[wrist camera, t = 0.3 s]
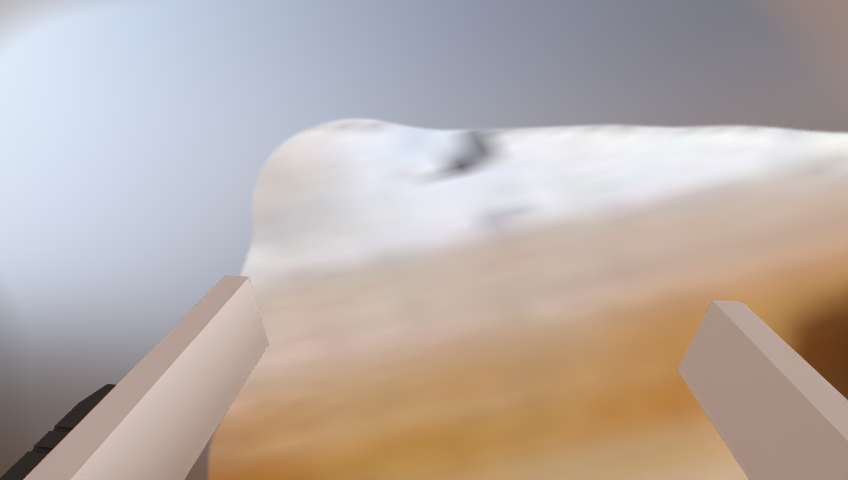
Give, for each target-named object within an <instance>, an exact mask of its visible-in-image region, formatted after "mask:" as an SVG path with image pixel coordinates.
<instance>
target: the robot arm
mask: <svg viewBox="0 0 848 480" xmlns="http://www.w3.org/2000/svg"><path fill="white" fill-rule="evenodd" d="M268 345H269V344H268V340H267V337H266V333H265V330H264V326H263V323H262V320H261V316H260V313H259V309H258V306H257V302H256V299H255V295H254V292H253V289H252V285H251V282H250V278H249V277H240V276H224V277H223V278H222V279H221V280H220V281H219V282H218V283H217V284H216V285H215V286H214V287H213V288H212V289H211V290H210V292H208V293H207V294H206V295H205V296H204V297H203V298H202V299H201V300H200V301H199V303H197V304H196V305H195V306H194V307H193V308H192V309H191V310H190V311H189V312H188V314H187V315H186V316H184V317H183V319H182V320H181V321H180V322H179V323H178V324H177V325H176V326H175V327H174V328H173V329H172V330H171V331H170V332H169V333H168V334H167V335H166V336H165V337H164V338H163V339H162V340H161V341H160V342H159V343H158V344H157V345H156V346H155V347H154V348H153V349H152V350H151V351H150V352H149V353H148V354H147V355H146V356H145V357H144V358H143V359H142V360H141V361H140V362H139V363H138V364H137V365H136V366H135V367H134V368H133V369H132V370H131V371H130V372H129V373H128V374H127V375H126V376H125V377H124V378H123V379H122V380H121V381H120V382H119V383H118V384H117V385H112V384H107V385H105V386H104V387H102V388H101V389H100V390H98V391H97V392H95V393H93V394H92V395H90V396H89V397H87V398H86V399H84V400H83V401H81V402H80V403H78V404H77V405H76V406H75V407H74V408H73V409H72V410H71V411H70V412H69V413H68V414H67V415H66V416H65V417H64V418H63V419H62V420H61V421H59V422H58V423H57V425H55V426H54V427H55V428H54V430H53V431H49V432H48V433H47V434H46V435H45V436H44V437H43V438H42V439H41V440H40V441H39V442H38V443H36V445H34V449H33V450H32V451H31V452H27V453H26V454H25V455H24V456H23V457H22V458H21V459H20V460H19V461H18V462H17V463H16V464H15V465H14V466H12V467H11V468H10V469H9V470H8V471H7V472H6V473H5V474H4V475H3V476H2V477H1V478H0V480H184V479H185V478H186V476H187V474H188V473H189V471H190V470H191V468H192V466H193V465H194V463H195V462H196V460H197V458H198V457H199V455H200V454H201V452H202V450H203V448H204V447H205V446H206V444H207V442H208V441H209V439H210V438H211V436H212V434H213V433H214V431H215V430H216V428H217V426H218V425H219V423H220V422H221V420H222V418H223V417H224V415H225V413H226V412H227V410H228V409H229V407H230V405H231V404H232V402H233V401H234V399H235V397H236V396H237V394H238V393H239V391H240V389H241V388H242V386H243V385H244V383H245V381H246V380H247V378H248V377H249V375H250V373H251V372H252V370H253V369H254V367H255V365H256V364H257V362H258V361H259V359H260V357H261V356H262V354H263V353H264V351H265V349H266V348H267V346H268ZM677 371H678V372H679V374H680V375H681V377H682V378H683V380H684V381H685V383H686V384H687V386H688V387H689V389H690V390H691V392H692V394H693V395H694V397H695V398H696V400H697V401H698V403H699V404H700V406H701V407H702V409H703V410H704V412H705V413H706V415H707V416H708V418H709V419H710V421H711V422H712V424H713V426H714V427H715V429H716V430H717V432H718V433H719V435H720V436H721V438H722V439H723V441H724V442H725V444H726V445H727V447H728V448H729V450H730V451H731V453H732V454H733V456H734V458H735V459H736V461H737V462H738V464H739V465H740V467H741V468H742V470H743V471H744V473H745V474H746V476H747V477H748V479H749V480H848V400H847V399H846V398H845V397H844V396H843V395H842V394H841V393H840V392H839V391H837V390H836V389H835V388H834V387H833V386H832V385H831V384H830V383H829V382H828V381H827V380H826V379H825V378H823V377H822V376H821V375H820V374H819V373H818V372H817V371H816V370H815V369H814V368H813V367H812V366H811V365H810V364H808V363H807V362H806V361H805V360H804V359H803V358H802V357H801V356H800V355H799V354H798V353H797V352H796V351H794V350H793V349H792V348H791V347H790V346H789V345H788V344H787V343H786V342H785V341H784V340H783V339H782V338H781V337H779V336H778V335H777V334H776V333H775V332H774V331H773V330H772V329H771V328H770V327H769V326H768V325H767V324H766V323H764V322H763V321H762V320H761V319H760V318H759V317H758V316H757V315H756V314H755V313H754V312H753V311H752V310H750V309H749V308H748V307H747V306H746V305H745V304H744V303H743V302H742V301H726V300H711V302H710V304H709V307H708V309H707V311H706V313H705V315H704V317H703V319H702V321H701V323H700V325H699V327H698V329H697V331H696V333H695V335H694V337H693V339H692V341H691V343H690V345H689V347H688V350H687V352H686V354H685V356H684V358H683V360H682V362H681V364H680V366H679V368H678V370H677Z"/></svg>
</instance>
